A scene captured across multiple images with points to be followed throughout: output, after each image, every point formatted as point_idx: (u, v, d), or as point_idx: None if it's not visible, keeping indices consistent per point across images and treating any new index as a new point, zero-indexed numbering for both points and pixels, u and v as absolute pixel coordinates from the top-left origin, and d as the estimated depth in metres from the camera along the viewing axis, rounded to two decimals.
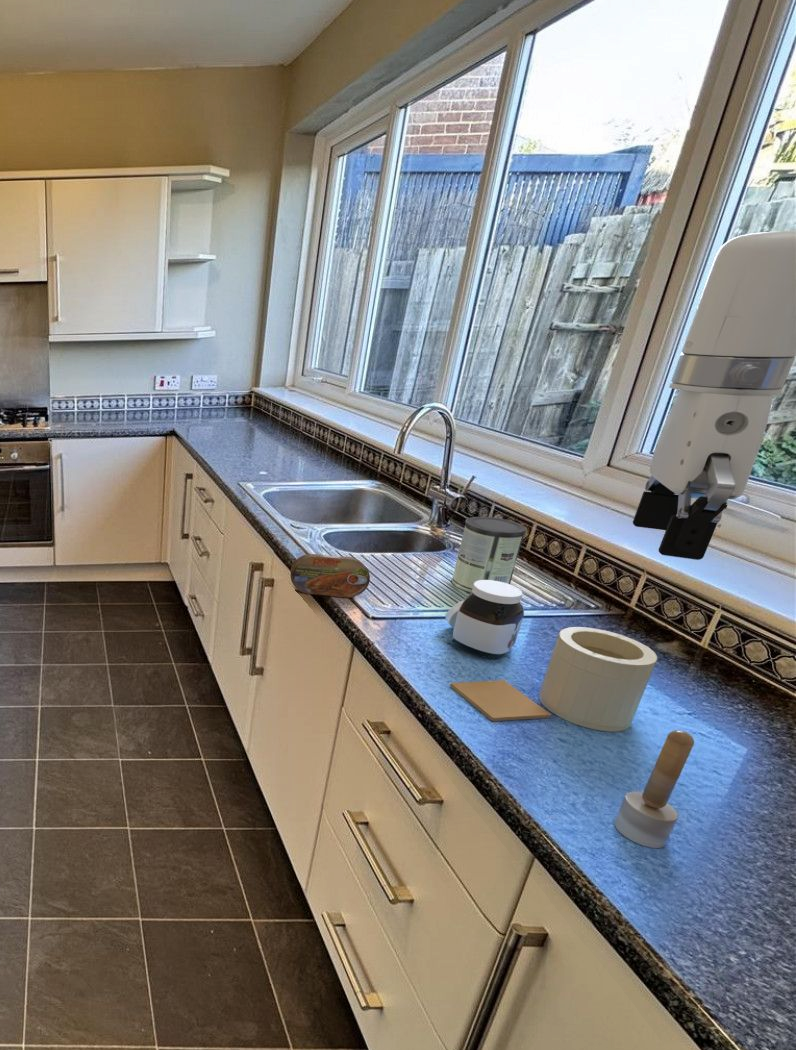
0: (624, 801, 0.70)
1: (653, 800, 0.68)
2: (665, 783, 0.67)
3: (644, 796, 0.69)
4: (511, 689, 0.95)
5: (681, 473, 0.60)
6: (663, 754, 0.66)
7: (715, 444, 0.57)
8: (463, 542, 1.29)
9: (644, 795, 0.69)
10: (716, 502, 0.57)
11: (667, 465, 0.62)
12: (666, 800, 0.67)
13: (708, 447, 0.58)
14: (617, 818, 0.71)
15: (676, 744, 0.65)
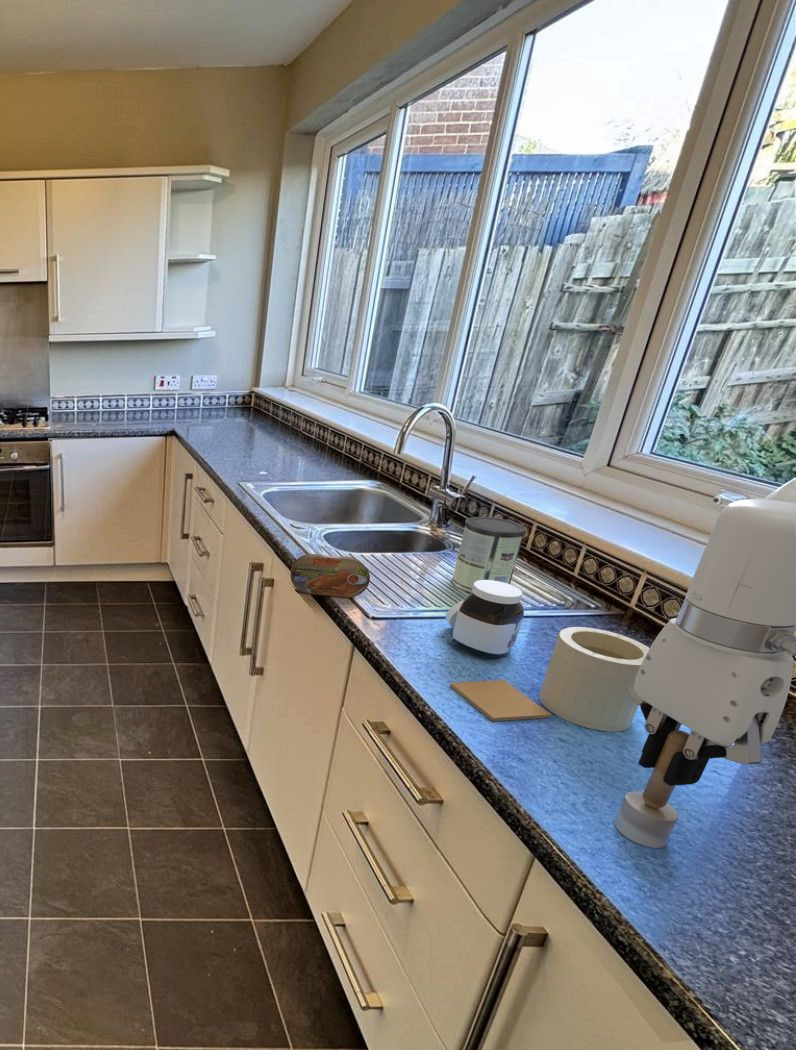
0: (624, 801, 0.70)
1: (653, 800, 0.68)
2: (665, 783, 0.67)
3: (644, 796, 0.69)
4: (511, 689, 0.95)
5: (729, 730, 0.59)
6: (664, 754, 0.66)
7: (760, 705, 0.58)
8: (463, 542, 1.29)
9: (644, 795, 0.69)
10: None
11: (691, 710, 0.62)
12: (666, 800, 0.67)
13: (754, 708, 0.58)
14: (617, 818, 0.71)
15: (676, 744, 0.65)
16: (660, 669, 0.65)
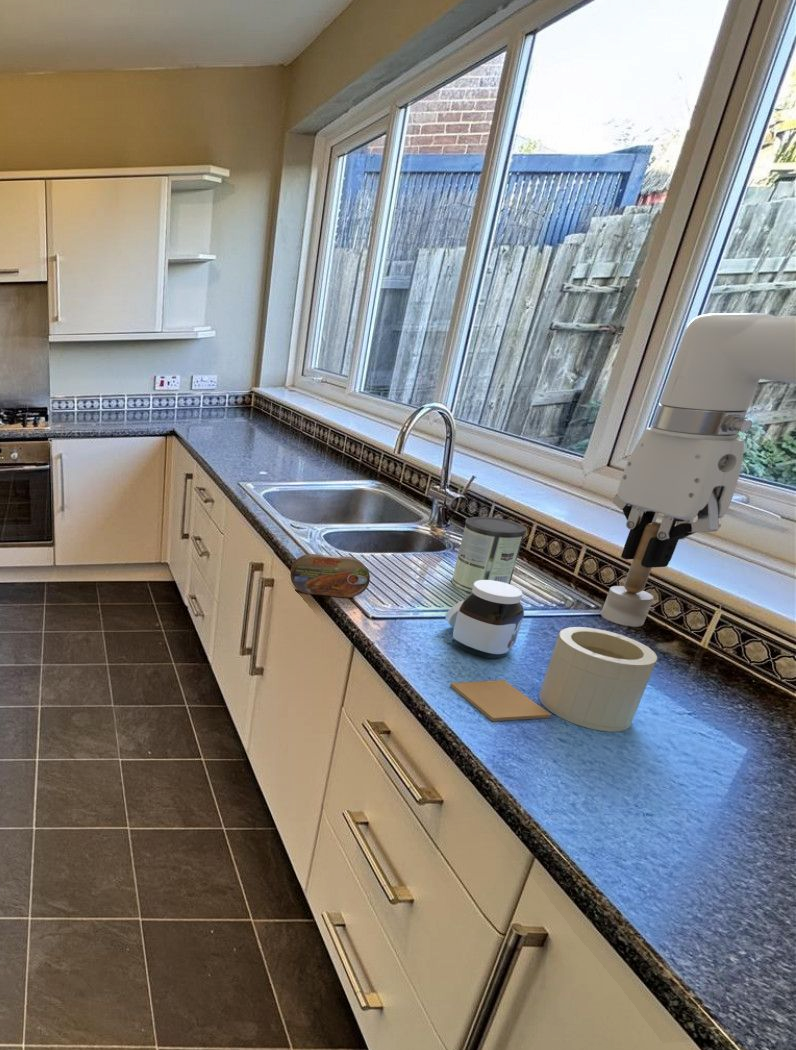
0: (609, 592, 0.84)
1: (633, 585, 0.82)
2: (642, 568, 0.80)
3: (625, 584, 0.82)
4: (511, 689, 0.95)
5: (693, 504, 0.73)
6: (641, 544, 0.80)
7: (717, 480, 0.72)
8: (463, 542, 1.29)
9: (625, 583, 0.82)
10: None
11: (663, 496, 0.76)
12: (643, 584, 0.81)
13: (713, 482, 0.72)
14: (603, 608, 0.85)
15: (651, 532, 0.79)
16: (639, 470, 0.79)
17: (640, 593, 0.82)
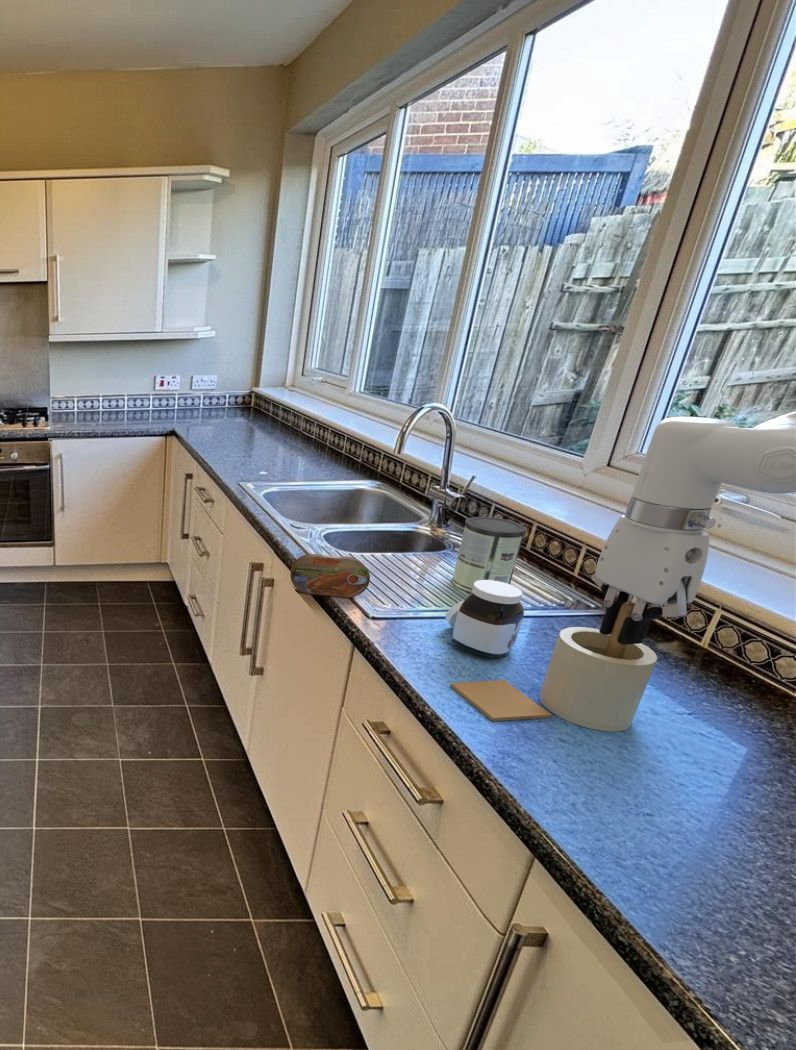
0: None
1: None
2: (619, 644, 0.86)
3: None
4: (511, 689, 0.95)
5: (663, 591, 0.79)
6: (617, 621, 0.86)
7: (685, 570, 0.78)
8: (463, 542, 1.29)
9: None
10: None
11: (636, 581, 0.82)
12: (620, 658, 0.87)
13: (681, 573, 0.78)
14: None
15: (626, 612, 0.85)
16: (614, 554, 0.85)
17: None
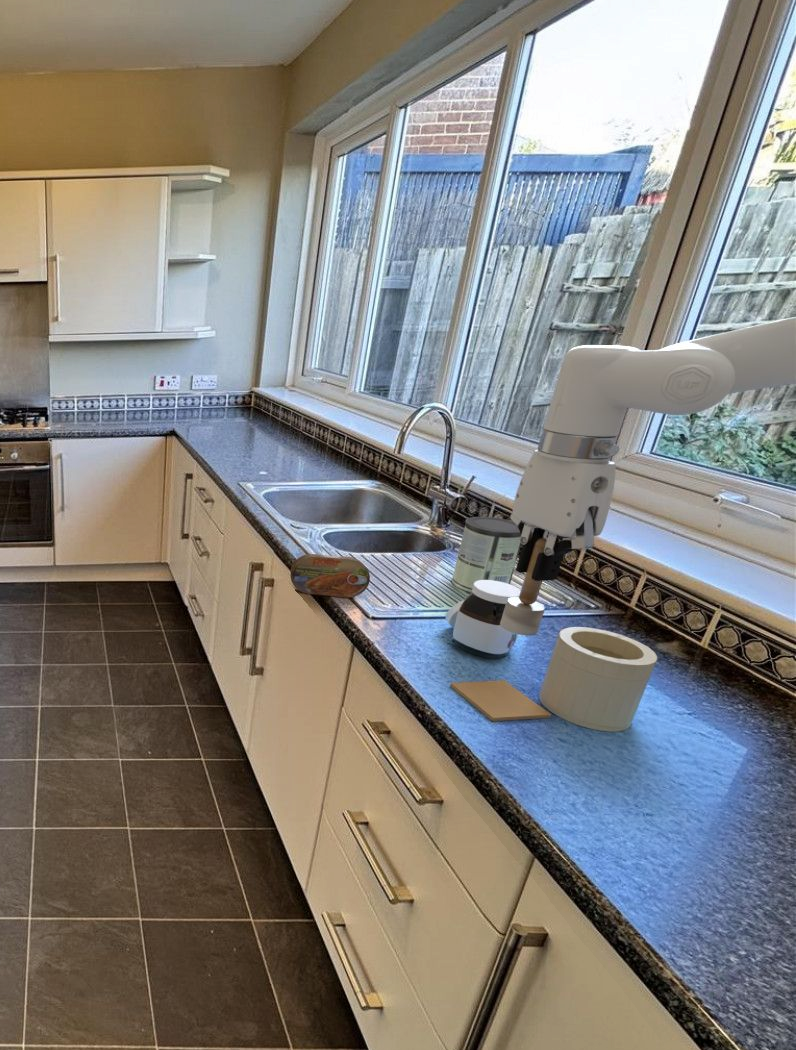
0: (506, 603, 0.89)
1: (526, 597, 0.87)
2: (533, 581, 0.86)
3: (520, 596, 0.88)
4: (511, 689, 0.95)
5: (570, 522, 0.78)
6: (532, 558, 0.85)
7: (591, 500, 0.77)
8: (463, 542, 1.29)
9: (520, 595, 0.88)
10: (576, 548, 0.80)
11: (547, 514, 0.81)
12: (535, 596, 0.86)
13: (587, 503, 0.77)
14: None
15: (540, 547, 0.84)
16: (528, 489, 0.84)
17: (534, 604, 0.87)
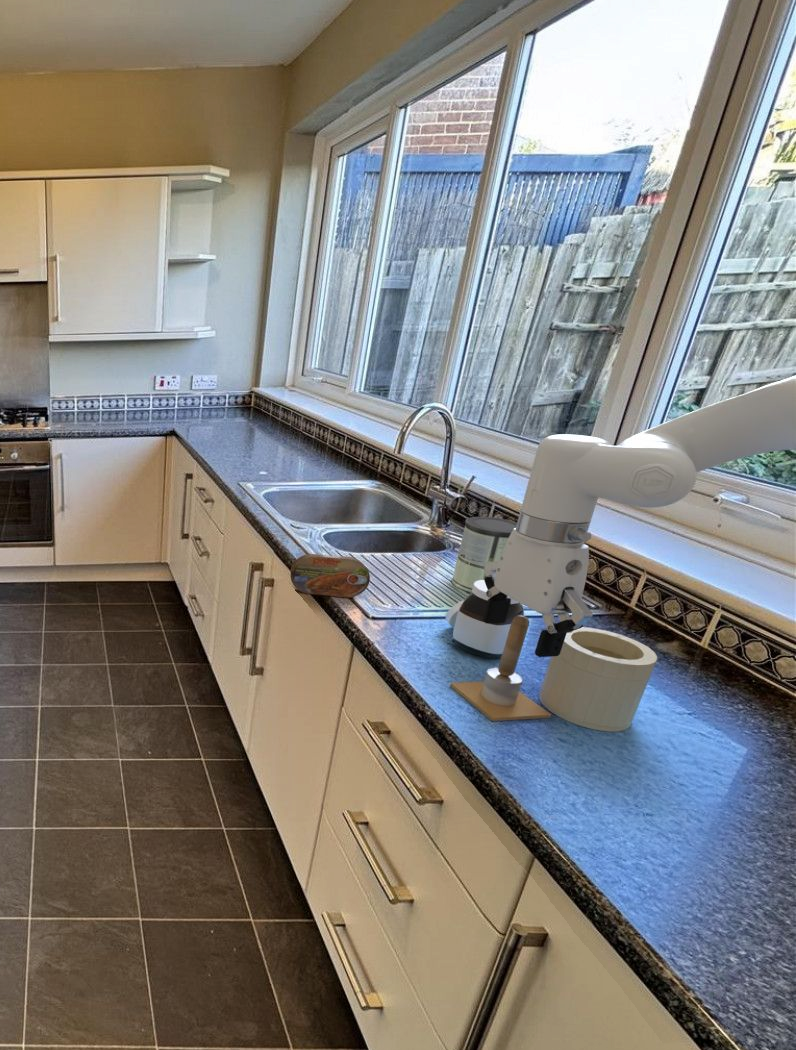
0: (486, 673, 0.93)
1: (504, 670, 0.91)
2: (511, 655, 0.90)
3: (499, 668, 0.92)
4: None
5: (547, 602, 0.82)
6: (509, 634, 0.90)
7: (566, 581, 0.81)
8: (463, 542, 1.29)
9: (499, 667, 0.92)
10: (580, 624, 0.80)
11: (526, 591, 0.85)
12: (513, 669, 0.91)
13: (562, 584, 0.81)
14: (482, 687, 0.94)
15: (516, 624, 0.88)
16: (508, 565, 0.88)
17: (512, 676, 0.92)
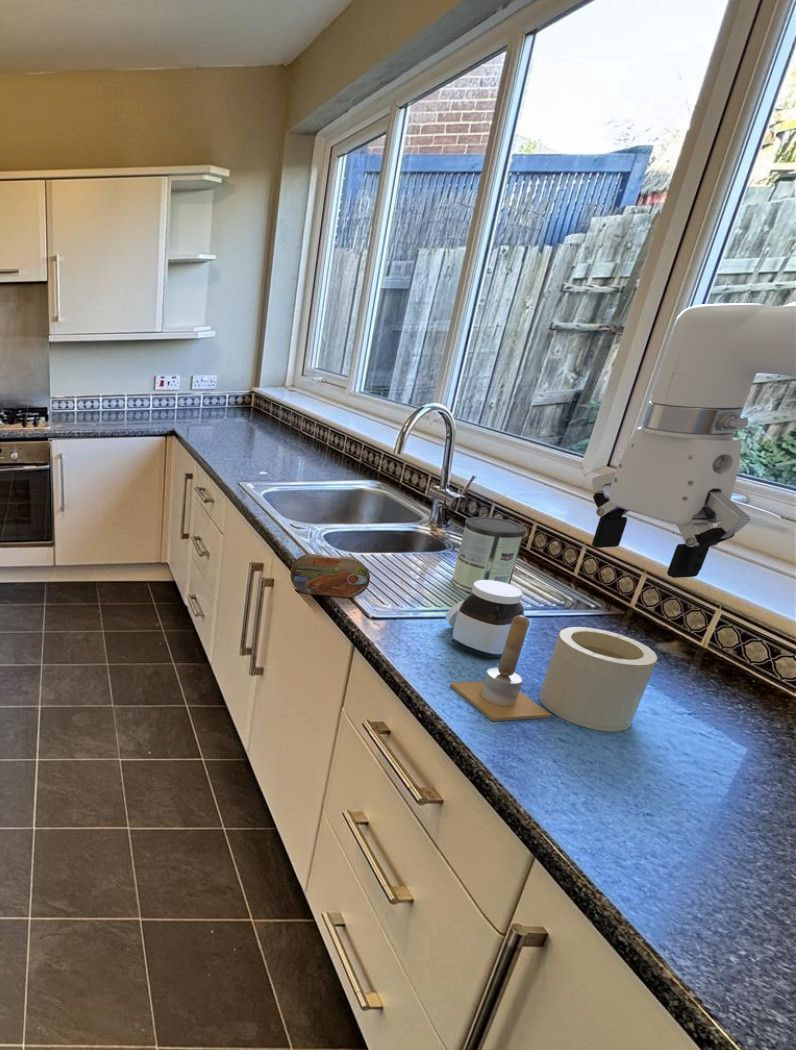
0: (486, 673, 0.93)
1: (504, 670, 0.91)
2: (511, 655, 0.90)
3: (499, 668, 0.92)
4: None
5: (687, 508, 0.68)
6: (509, 634, 0.90)
7: (712, 482, 0.67)
8: (463, 542, 1.29)
9: (499, 667, 0.92)
10: (732, 532, 0.66)
11: (656, 499, 0.71)
12: (513, 669, 0.91)
13: (708, 485, 0.67)
14: (482, 687, 0.94)
15: (516, 624, 0.88)
16: (630, 472, 0.74)
17: (512, 676, 0.92)
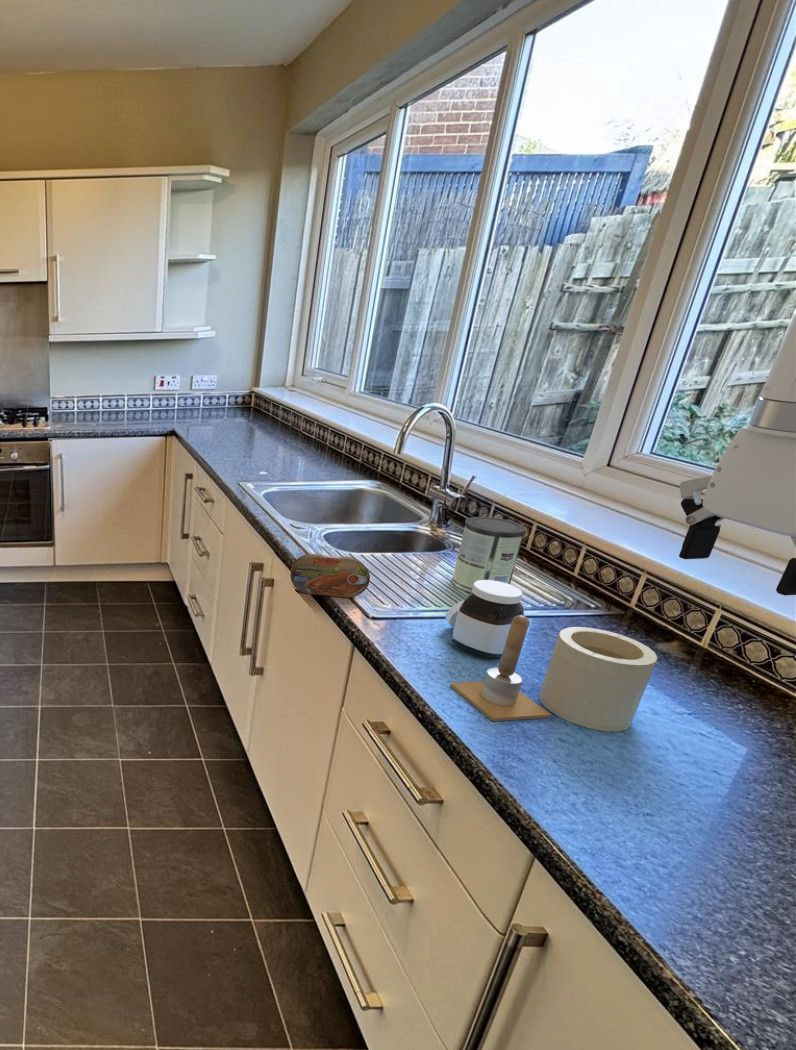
0: (486, 673, 0.93)
1: (504, 670, 0.91)
2: (511, 655, 0.90)
3: (499, 668, 0.92)
4: None
5: None
6: (509, 634, 0.90)
7: None
8: (463, 542, 1.29)
9: (499, 667, 0.92)
10: None
11: (765, 508, 0.64)
12: (513, 669, 0.91)
13: None
14: (482, 687, 0.94)
15: (516, 624, 0.88)
16: (732, 476, 0.66)
17: (512, 676, 0.92)
